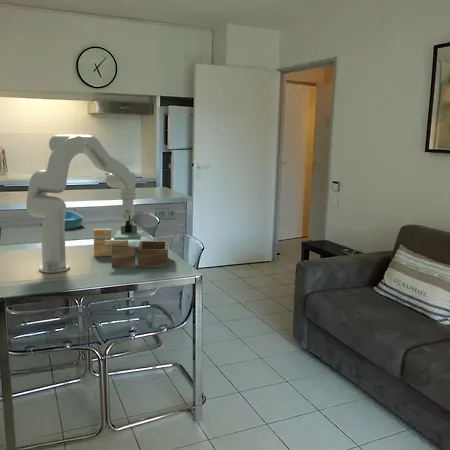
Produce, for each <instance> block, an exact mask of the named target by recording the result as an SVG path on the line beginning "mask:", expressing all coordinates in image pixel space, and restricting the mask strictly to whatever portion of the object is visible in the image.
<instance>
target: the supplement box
mask: <svg viewBox="0 0 450 450" xmlns="http://www.w3.org/2000/svg"><path fill="white" fill-rule="evenodd" d="M105 240H112V228H93V255H94V256H93V257H95V258H96V257H112V254H111V247H112V246H105V242H104V241H105Z"/></svg>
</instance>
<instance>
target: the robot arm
mask: <svg viewBox="0 0 450 450" xmlns="http://www.w3.org/2000/svg"><path fill="white" fill-rule="evenodd" d="M48 141H49V142H48V147H49V149H50V151H51V153H50V154H49V155H50V156H49V158H48V162H47V167H46V169H45V170H44V169H41V170H37V171H35V172H34V173H33V174H32V175H31V177H30V179H29V182H28V189H27V197H26V206H25V207H26V211H27V213H28V214H29V215H30V216H32V217H34V218H44V221H43V220H42V221H43V222H42V224H41V226H40V227H41V228H40V236H41V237H40V239H41V260H42V265H40V266H38V271H39V272H41V273H48V274H49V273H50V274H55V273H62V272H67V271H68V270H70V267H71V266H70V264H68V263H67V259H66V257H67V256H66V255H67V254H66V233H65V232H66V231H65V230H66V229H64V222H65V214H66V211H67V205H66V202H65V200H63V199H62V198H61V197H58V196H52V195H48V194H61V193H63V192H65V189H66V186H67V183H68V182H67V181H68V176H69V175H68V174H69V168H70V165H71V164H70V163H71V162H72V160H73V159H74V158H75V156H77V155H78V154H84V155H85V156H87V158H88V159H89V161H91V163H92V164H93V165H94V166H95V168H97V169H99V170H101V171H103V172H106V173H108V174H107V176H106V177H105V182H106V185H107V186H108V187H110V188H114V189H119V191H120V200H121V201H122V205H121V208H122V211H121V213H122V214H121V215H122V217H121V218H122V220H125V224H124V225H125V232H132V226H131V225H133V221H132V220H133V217H134V200H136V197H137V196H136V174H135V173H134V172H132V171H130V169H129V168H128V166H126V165H125V164H124V163H122V162H120V160H118V159H116V158H115V157H114V156H111V155H110V154H109V152H108V151H107V150H106V149H105V147H104V146H103V145H102V144H101V142H100V141H99V139H98V138H97V137H95V136H94V135H92V134H91V135H90V134H54V135H52V136H51V137H50V139H49V140H48Z"/></svg>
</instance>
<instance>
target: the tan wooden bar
mask: <svg viewBox="0 0 450 450" xmlns="http://www.w3.org/2000/svg"><path fill="white" fill-rule="evenodd" d="M104 242H105V246H111V247H112V246H129V240H114V239H111V240H105V241H104Z"/></svg>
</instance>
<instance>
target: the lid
mask: <svg viewBox="0 0 450 450" xmlns="http://www.w3.org/2000/svg"><path fill="white" fill-rule="evenodd" d="M131 226H132V232H125V224H120V229H119V230H117V231H116V233H115V235H114V236H113V240H128V241H130V240H132V241H134V240H135V241H136V240H139V241H140V240H141V239H142V236H143V231H144V230H142V229H141V230H138V225H137V224H132V225H131Z"/></svg>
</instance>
